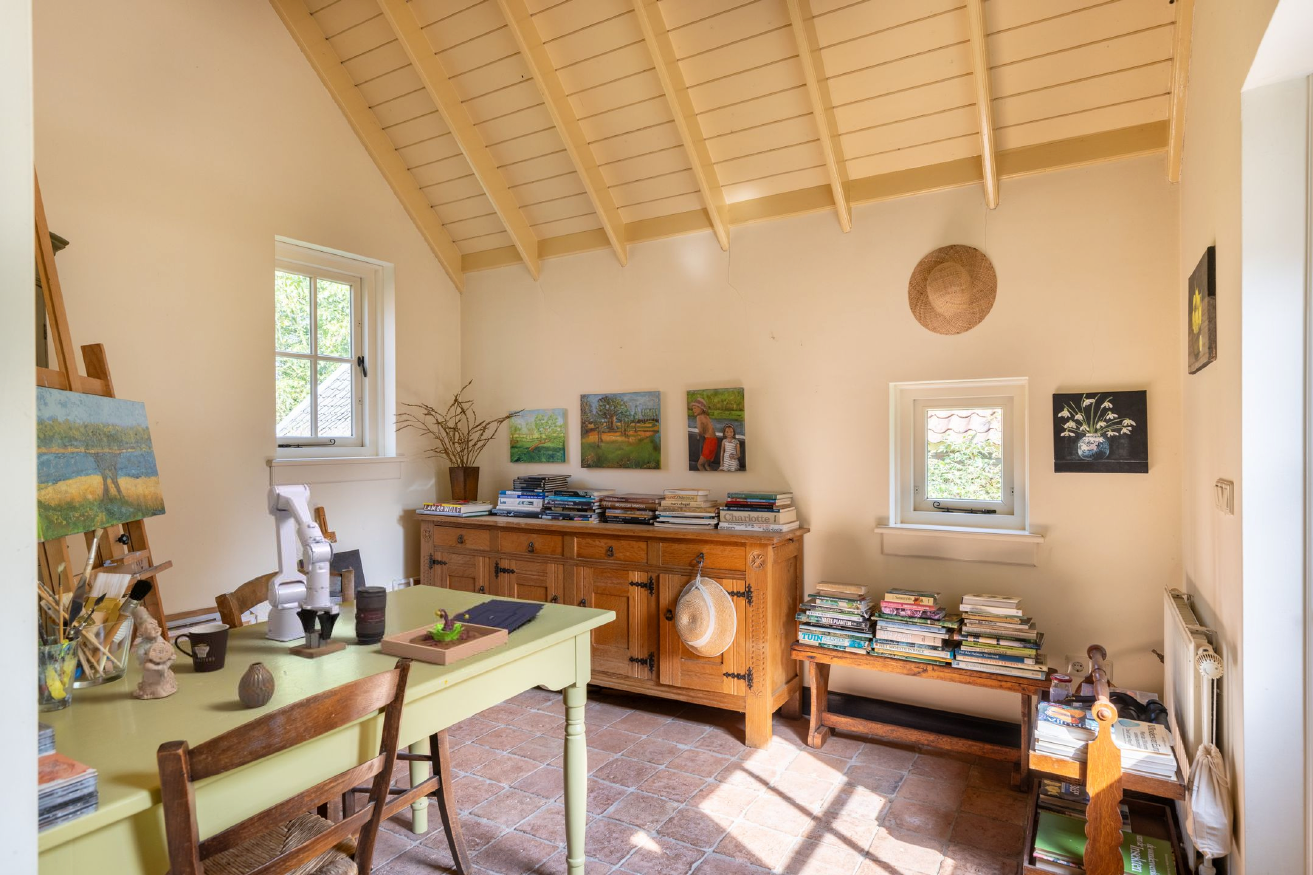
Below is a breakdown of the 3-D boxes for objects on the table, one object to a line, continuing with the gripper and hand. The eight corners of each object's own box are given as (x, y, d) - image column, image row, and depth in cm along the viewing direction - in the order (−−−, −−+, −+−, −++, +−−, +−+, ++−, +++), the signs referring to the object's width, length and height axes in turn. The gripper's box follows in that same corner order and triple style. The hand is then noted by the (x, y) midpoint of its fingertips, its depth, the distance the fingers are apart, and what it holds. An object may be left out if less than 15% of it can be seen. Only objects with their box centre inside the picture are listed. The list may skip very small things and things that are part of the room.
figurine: (123, 697, 160) (123, 607, 160) (163, 685, 167) (163, 599, 168) (148, 703, 156) (148, 610, 156) (187, 691, 164) (187, 602, 164)
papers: (551, 612, 233) (551, 601, 233) (500, 648, 206) (499, 636, 205) (488, 606, 242) (487, 596, 242) (430, 640, 214) (429, 628, 214)
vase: (247, 699, 158) (247, 659, 158) (280, 698, 159) (280, 658, 159) (231, 710, 151) (231, 668, 152) (266, 709, 152) (266, 667, 152)
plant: (395, 648, 198) (395, 607, 198) (460, 635, 212) (460, 596, 212) (428, 664, 184) (428, 620, 184) (496, 648, 197) (496, 607, 197)
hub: (301, 646, 194) (301, 631, 194) (319, 642, 198) (319, 627, 198) (313, 649, 191) (313, 634, 191) (331, 644, 195) (331, 629, 195)
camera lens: (373, 646, 199) (374, 591, 199) (348, 643, 201) (349, 590, 201) (391, 639, 206) (392, 586, 207) (367, 636, 209) (368, 584, 209)
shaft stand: (289, 653, 193) (289, 632, 193) (322, 643, 202) (322, 624, 202) (313, 658, 188) (313, 637, 188) (346, 648, 197) (346, 628, 197)
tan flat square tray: (381, 652, 193) (381, 639, 193) (446, 631, 214) (446, 620, 214) (445, 665, 182) (445, 651, 182) (507, 642, 202) (507, 629, 202)
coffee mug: (237, 665, 183) (237, 625, 183) (206, 675, 175) (206, 634, 175) (203, 660, 187) (203, 622, 187) (171, 670, 178) (171, 630, 178)
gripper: (287, 587, 195) (287, 637, 195) (322, 592, 188) (322, 644, 188) (310, 582, 201) (311, 631, 201) (345, 587, 194) (345, 638, 194)
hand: (318, 637), depth 195 cm, fingers open, 6 cm apart
